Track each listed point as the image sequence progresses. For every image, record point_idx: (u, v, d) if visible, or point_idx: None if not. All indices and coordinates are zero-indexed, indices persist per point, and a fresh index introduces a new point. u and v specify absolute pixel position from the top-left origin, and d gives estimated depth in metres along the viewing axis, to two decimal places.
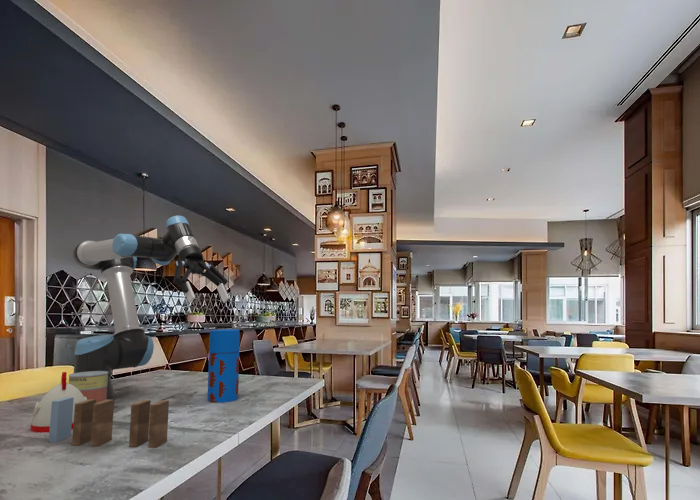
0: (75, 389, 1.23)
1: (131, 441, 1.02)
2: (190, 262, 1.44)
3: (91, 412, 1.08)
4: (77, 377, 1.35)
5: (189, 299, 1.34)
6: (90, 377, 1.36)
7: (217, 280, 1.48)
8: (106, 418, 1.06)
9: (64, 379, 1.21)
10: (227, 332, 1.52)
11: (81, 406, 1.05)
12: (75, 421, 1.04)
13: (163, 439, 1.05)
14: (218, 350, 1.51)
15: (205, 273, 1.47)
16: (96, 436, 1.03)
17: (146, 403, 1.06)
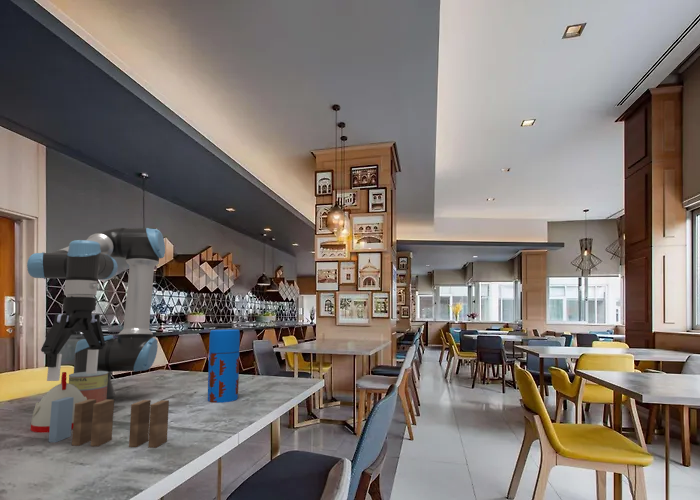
0: (75, 389, 1.23)
1: (131, 441, 1.02)
2: (75, 318, 1.11)
3: (91, 412, 1.08)
4: (77, 377, 1.35)
5: (50, 378, 1.04)
6: (90, 377, 1.36)
7: (94, 343, 1.19)
8: (105, 418, 1.06)
9: (64, 379, 1.21)
10: (227, 332, 1.52)
11: (82, 406, 1.05)
12: (75, 421, 1.04)
13: (163, 439, 1.05)
14: (218, 350, 1.51)
15: (85, 331, 1.16)
16: (96, 436, 1.03)
17: (146, 403, 1.06)
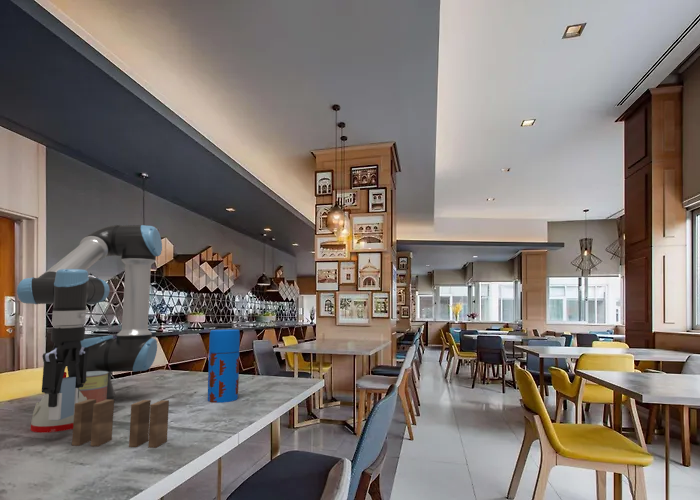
0: None
1: (131, 441, 1.02)
2: (64, 349, 1.10)
3: (91, 412, 1.08)
4: None
5: (51, 417, 1.07)
6: (90, 377, 1.36)
7: None
8: (106, 418, 1.06)
9: None
10: (227, 332, 1.52)
11: (81, 406, 1.05)
12: (75, 421, 1.04)
13: (163, 439, 1.05)
14: (218, 350, 1.51)
15: (70, 363, 1.13)
16: (96, 436, 1.03)
17: (146, 403, 1.06)
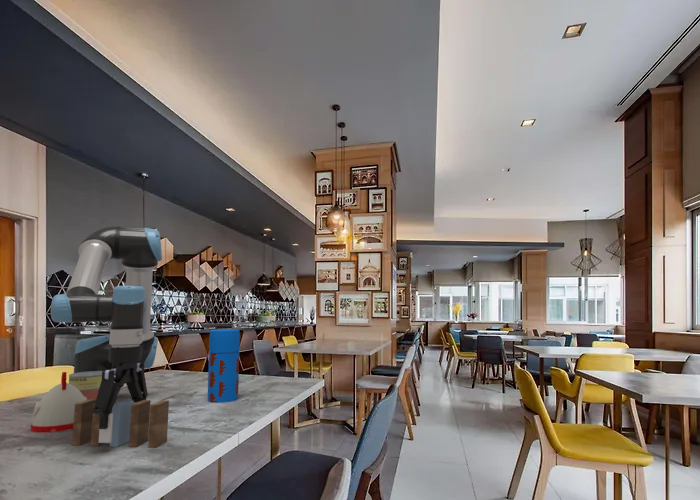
0: (75, 389, 1.23)
1: (131, 441, 1.02)
2: (122, 370, 1.05)
3: (91, 412, 1.08)
4: (77, 377, 1.35)
5: (102, 440, 0.99)
6: (90, 377, 1.36)
7: (137, 396, 1.11)
8: None
9: (64, 379, 1.21)
10: (227, 332, 1.52)
11: (81, 406, 1.05)
12: (75, 421, 1.04)
13: (163, 439, 1.05)
14: (218, 350, 1.51)
15: (129, 382, 1.10)
16: (96, 436, 1.03)
17: (146, 403, 1.06)
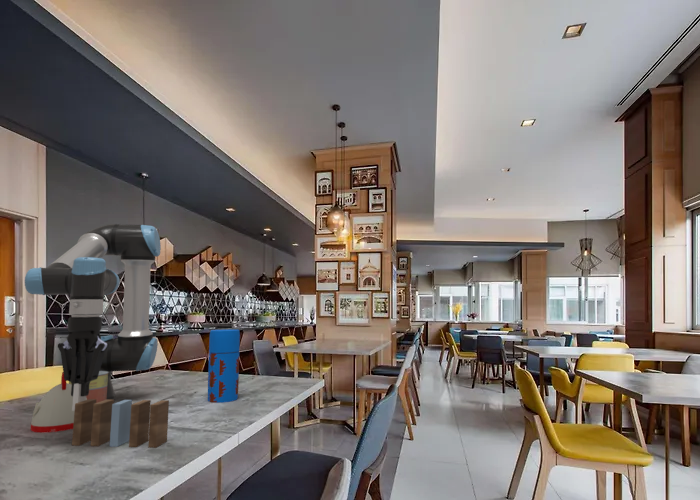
0: None
1: (131, 441, 1.02)
2: (72, 337, 1.09)
3: (91, 412, 1.08)
4: None
5: None
6: None
7: None
8: (106, 418, 1.06)
9: None
10: (227, 332, 1.52)
11: (82, 406, 1.05)
12: (75, 421, 1.04)
13: (163, 439, 1.05)
14: (218, 350, 1.51)
15: None
16: (96, 436, 1.03)
17: (146, 403, 1.06)
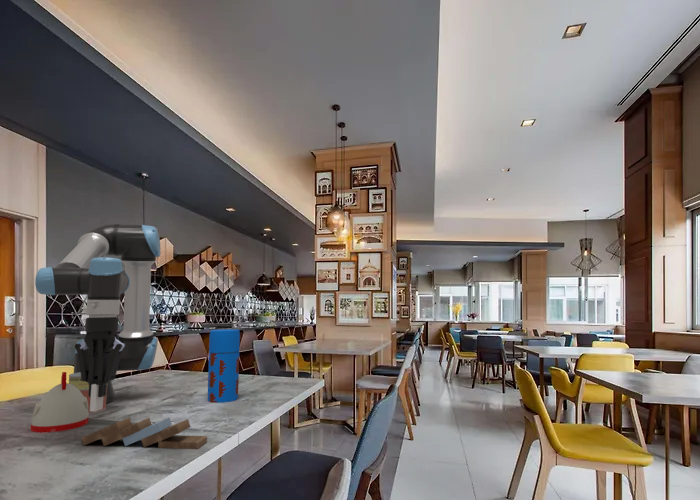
0: (75, 389, 1.23)
1: (146, 439, 1.02)
2: (89, 338, 1.08)
3: None
4: (77, 377, 1.35)
5: None
6: None
7: None
8: None
9: (64, 379, 1.21)
10: (227, 332, 1.52)
11: (116, 431, 1.03)
12: (101, 431, 1.03)
13: None
14: (218, 350, 1.51)
15: None
16: (111, 439, 1.03)
17: (185, 429, 1.04)
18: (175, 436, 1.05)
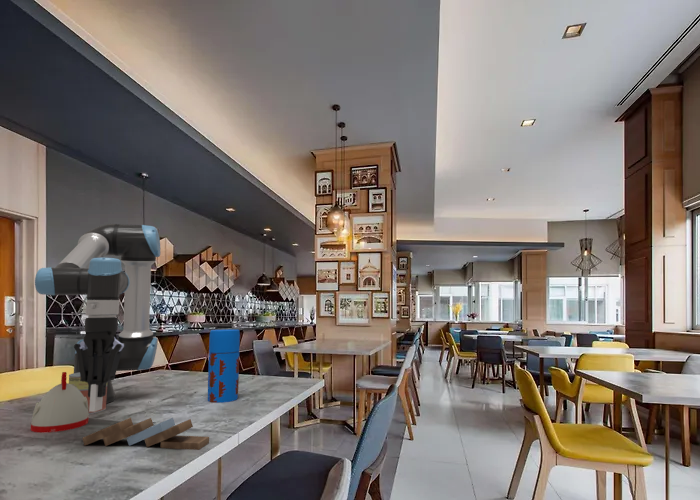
0: (75, 389, 1.23)
1: (149, 439, 1.02)
2: (89, 338, 1.08)
3: None
4: (77, 377, 1.35)
5: None
6: None
7: None
8: None
9: (64, 379, 1.21)
10: (227, 332, 1.52)
11: (118, 431, 1.03)
12: (103, 431, 1.03)
13: None
14: (218, 350, 1.51)
15: None
16: (113, 439, 1.03)
17: (187, 429, 1.03)
18: (178, 437, 1.05)
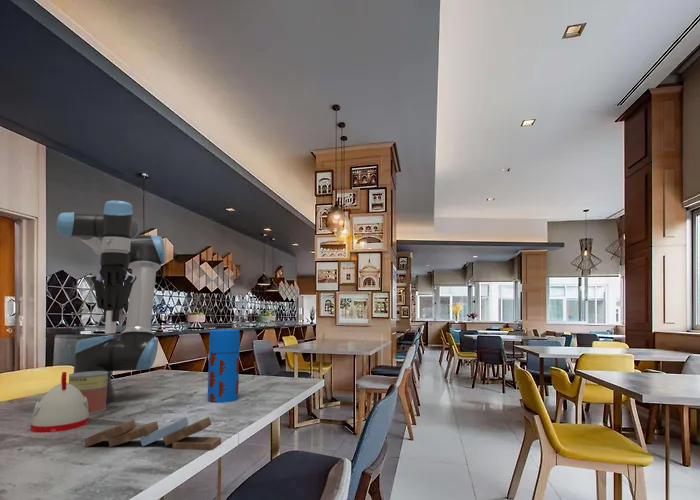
0: (75, 389, 1.23)
1: (168, 437, 1.02)
2: (104, 271, 1.23)
3: None
4: (77, 377, 1.35)
5: None
6: (90, 377, 1.36)
7: None
8: None
9: (64, 379, 1.21)
10: (227, 332, 1.52)
11: (121, 433, 1.02)
12: (106, 433, 1.03)
13: None
14: (218, 350, 1.51)
15: None
16: (117, 441, 1.02)
17: None
18: (189, 438, 1.04)
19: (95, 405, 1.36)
